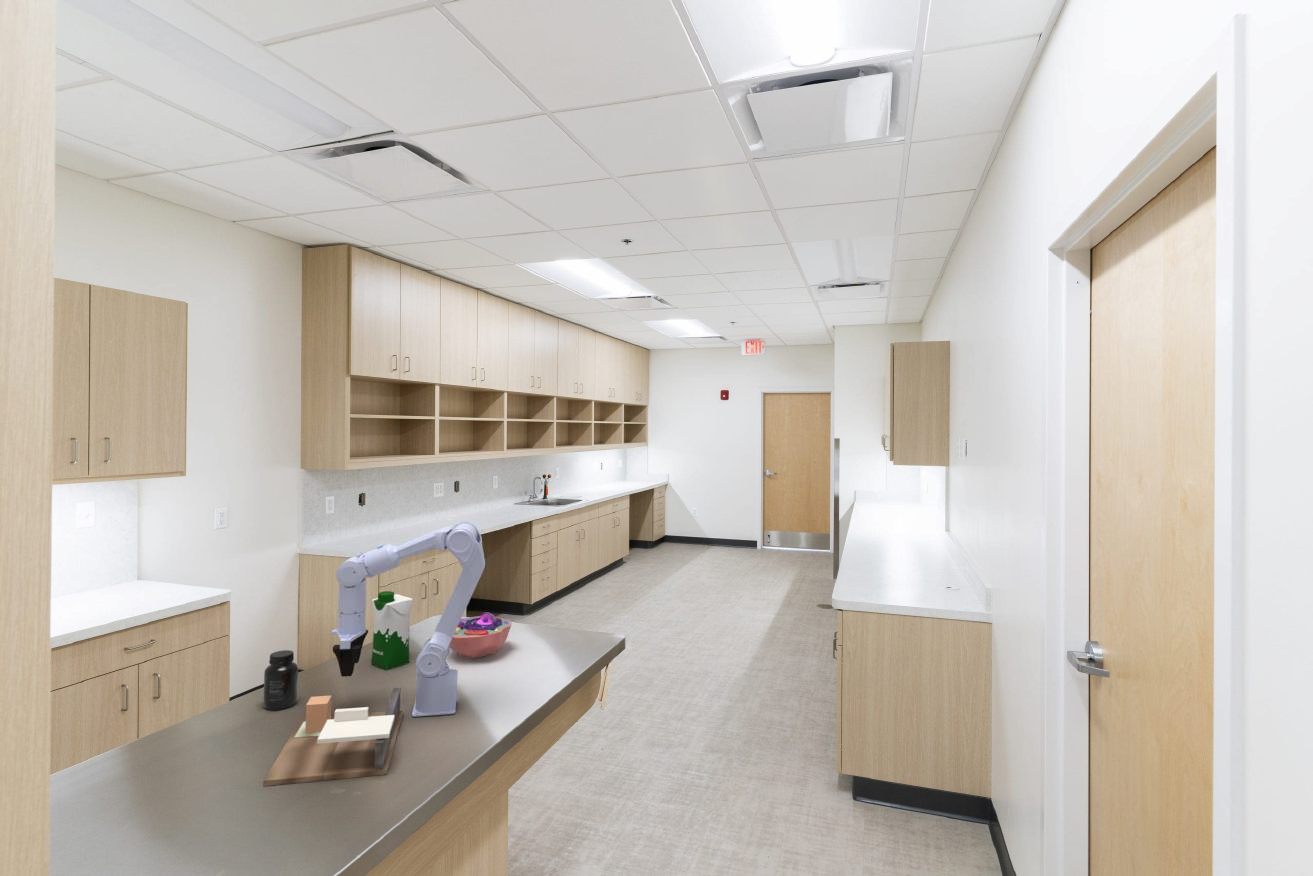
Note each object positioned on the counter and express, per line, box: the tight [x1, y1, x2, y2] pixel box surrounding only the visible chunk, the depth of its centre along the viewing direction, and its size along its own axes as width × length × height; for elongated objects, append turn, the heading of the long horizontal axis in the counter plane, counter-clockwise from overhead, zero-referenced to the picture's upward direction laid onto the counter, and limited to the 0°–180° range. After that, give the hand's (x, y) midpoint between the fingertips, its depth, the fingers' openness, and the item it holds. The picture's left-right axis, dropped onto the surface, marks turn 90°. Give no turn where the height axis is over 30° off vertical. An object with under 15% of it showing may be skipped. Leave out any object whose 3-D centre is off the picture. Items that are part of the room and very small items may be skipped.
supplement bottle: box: [263, 649, 299, 711], centre depth 148 cm, size 7×7×12 cm
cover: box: [317, 706, 395, 744], centre depth 124 cm, size 12×8×3 cm, turn 105°
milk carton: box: [370, 590, 414, 671], centre depth 174 cm, size 9×9×20 cm
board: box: [262, 687, 404, 787], centre depth 131 cm, size 21×25×6 cm
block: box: [305, 695, 332, 733], centre depth 135 cm, size 4×4×6 cm
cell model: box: [450, 611, 513, 659], centre depth 184 cm, size 17×20×11 cm
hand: (350, 669), depth 145 cm, fingers open, 7 cm apart
